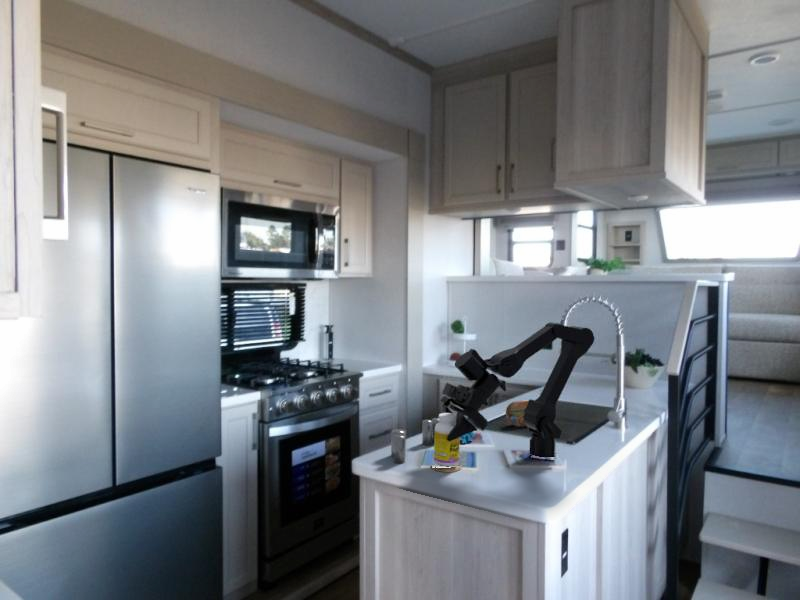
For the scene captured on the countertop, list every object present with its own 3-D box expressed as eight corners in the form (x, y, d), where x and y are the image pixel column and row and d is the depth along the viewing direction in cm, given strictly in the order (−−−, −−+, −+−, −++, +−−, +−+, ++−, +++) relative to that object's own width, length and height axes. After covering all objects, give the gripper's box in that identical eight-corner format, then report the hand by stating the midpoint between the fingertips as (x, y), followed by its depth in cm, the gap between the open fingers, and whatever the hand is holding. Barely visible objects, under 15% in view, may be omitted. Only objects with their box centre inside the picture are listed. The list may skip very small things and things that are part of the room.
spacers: (442, 441, 175) (442, 418, 175) (416, 465, 152) (417, 439, 152) (413, 437, 178) (413, 415, 178) (383, 461, 155) (383, 435, 155)
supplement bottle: (450, 469, 147) (451, 420, 146) (429, 463, 151) (429, 415, 150) (463, 462, 152) (464, 414, 151) (443, 456, 156) (443, 410, 155)
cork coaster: (464, 464, 154) (464, 463, 154) (456, 474, 146) (456, 472, 146) (435, 460, 156) (435, 459, 156) (426, 470, 149) (426, 468, 149)
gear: (451, 441, 170) (443, 412, 176) (442, 451, 173) (434, 422, 180) (482, 442, 174) (473, 413, 181) (473, 451, 178) (464, 423, 185)
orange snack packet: (509, 427, 192) (509, 402, 191) (503, 425, 195) (504, 400, 194) (545, 423, 198) (546, 399, 197) (540, 421, 201) (540, 397, 200)
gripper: (446, 366, 160) (409, 408, 157) (477, 378, 143) (436, 426, 140) (471, 392, 163) (435, 434, 160) (504, 407, 146) (465, 454, 143)
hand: (442, 436), depth 150 cm, fingers closed on supplement bottle, 7 cm apart
